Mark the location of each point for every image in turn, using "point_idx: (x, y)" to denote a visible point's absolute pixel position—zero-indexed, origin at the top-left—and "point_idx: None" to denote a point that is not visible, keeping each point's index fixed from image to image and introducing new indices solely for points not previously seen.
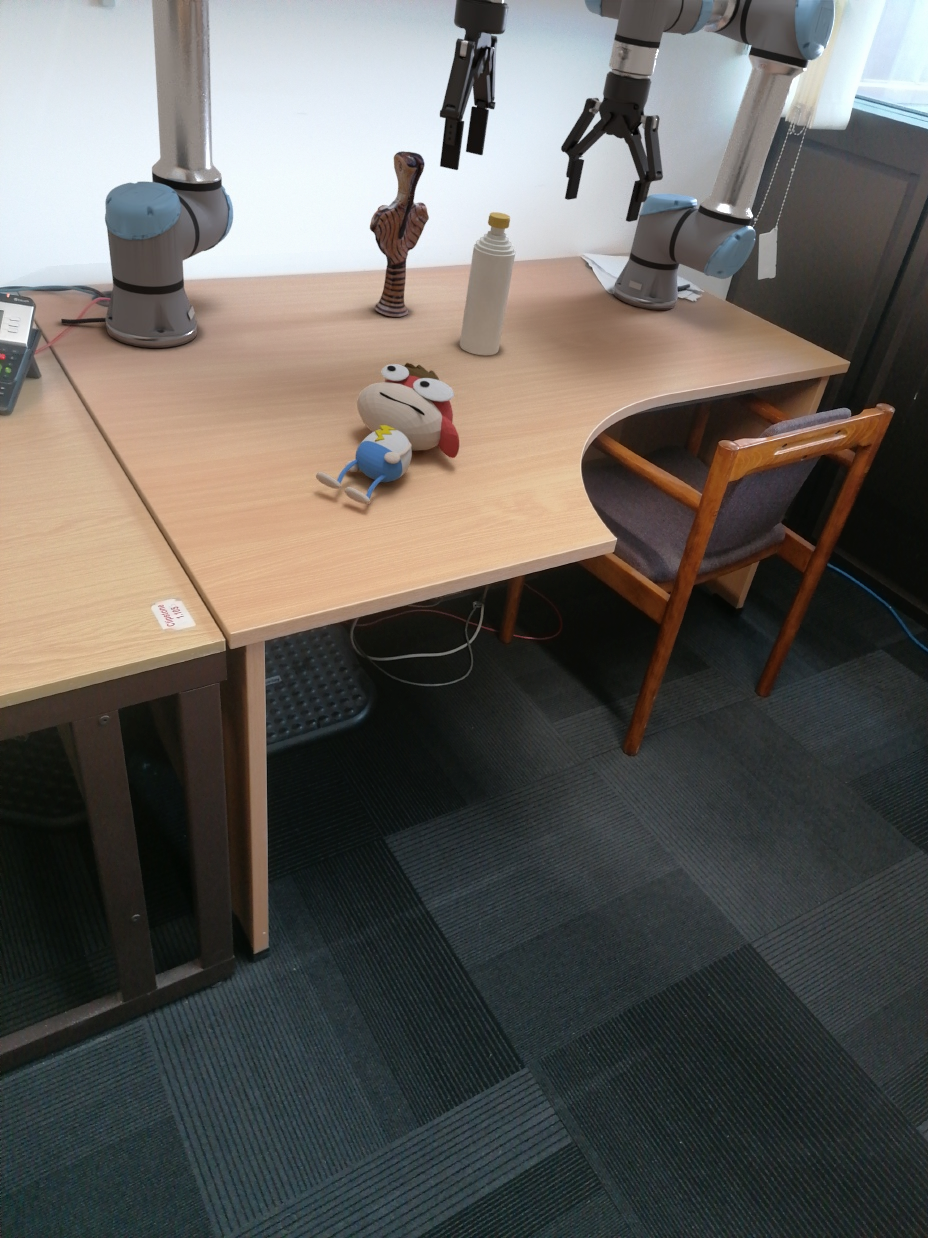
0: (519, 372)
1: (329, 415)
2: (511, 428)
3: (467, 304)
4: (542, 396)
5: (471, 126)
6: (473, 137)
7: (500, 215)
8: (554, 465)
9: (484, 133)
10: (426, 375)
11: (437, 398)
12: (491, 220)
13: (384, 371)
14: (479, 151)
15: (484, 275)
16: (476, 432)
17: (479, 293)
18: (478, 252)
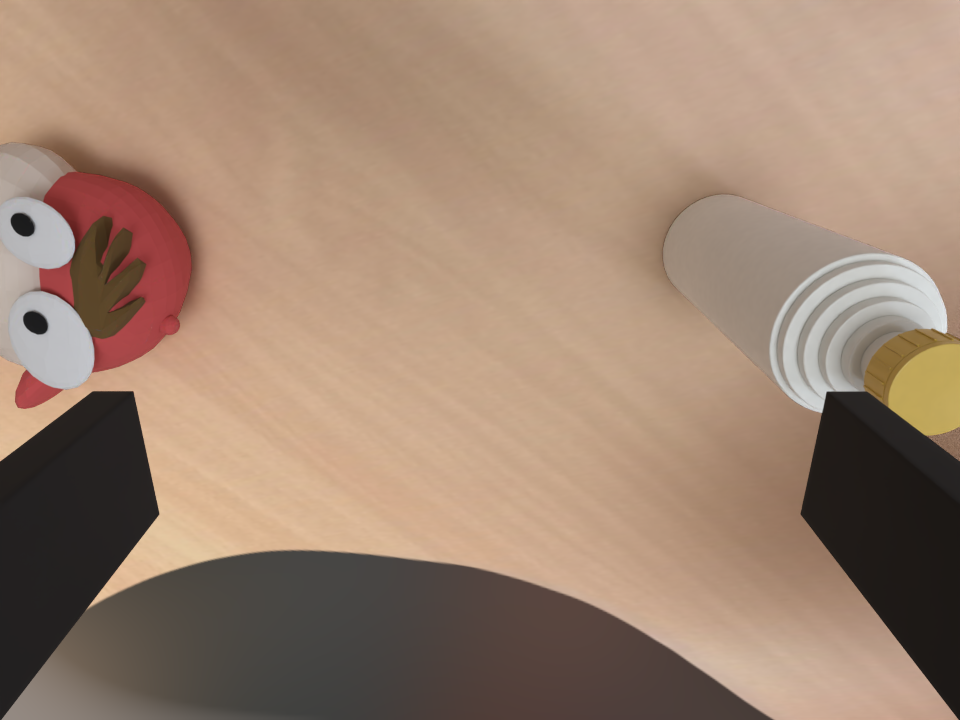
0: (610, 378)
1: (78, 48)
2: (312, 430)
3: (729, 230)
4: (508, 450)
5: (951, 534)
6: (884, 505)
7: (941, 392)
8: (221, 528)
9: (893, 632)
10: (87, 309)
11: (22, 362)
12: (890, 357)
13: (6, 209)
14: (813, 510)
15: (738, 308)
16: (245, 374)
17: (719, 281)
18: (787, 290)
